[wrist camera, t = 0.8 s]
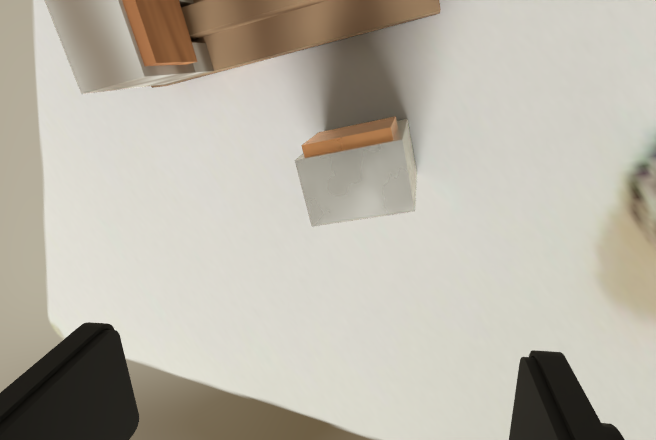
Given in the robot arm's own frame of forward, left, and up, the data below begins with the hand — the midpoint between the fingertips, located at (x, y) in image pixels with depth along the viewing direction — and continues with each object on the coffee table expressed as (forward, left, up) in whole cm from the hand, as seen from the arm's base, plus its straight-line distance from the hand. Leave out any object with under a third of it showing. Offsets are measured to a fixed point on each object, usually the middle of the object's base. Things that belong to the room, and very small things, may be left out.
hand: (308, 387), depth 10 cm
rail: (+5, -12, -23) cm, 26 cm away
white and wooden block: (+1, -1, -23) cm, 23 cm away
